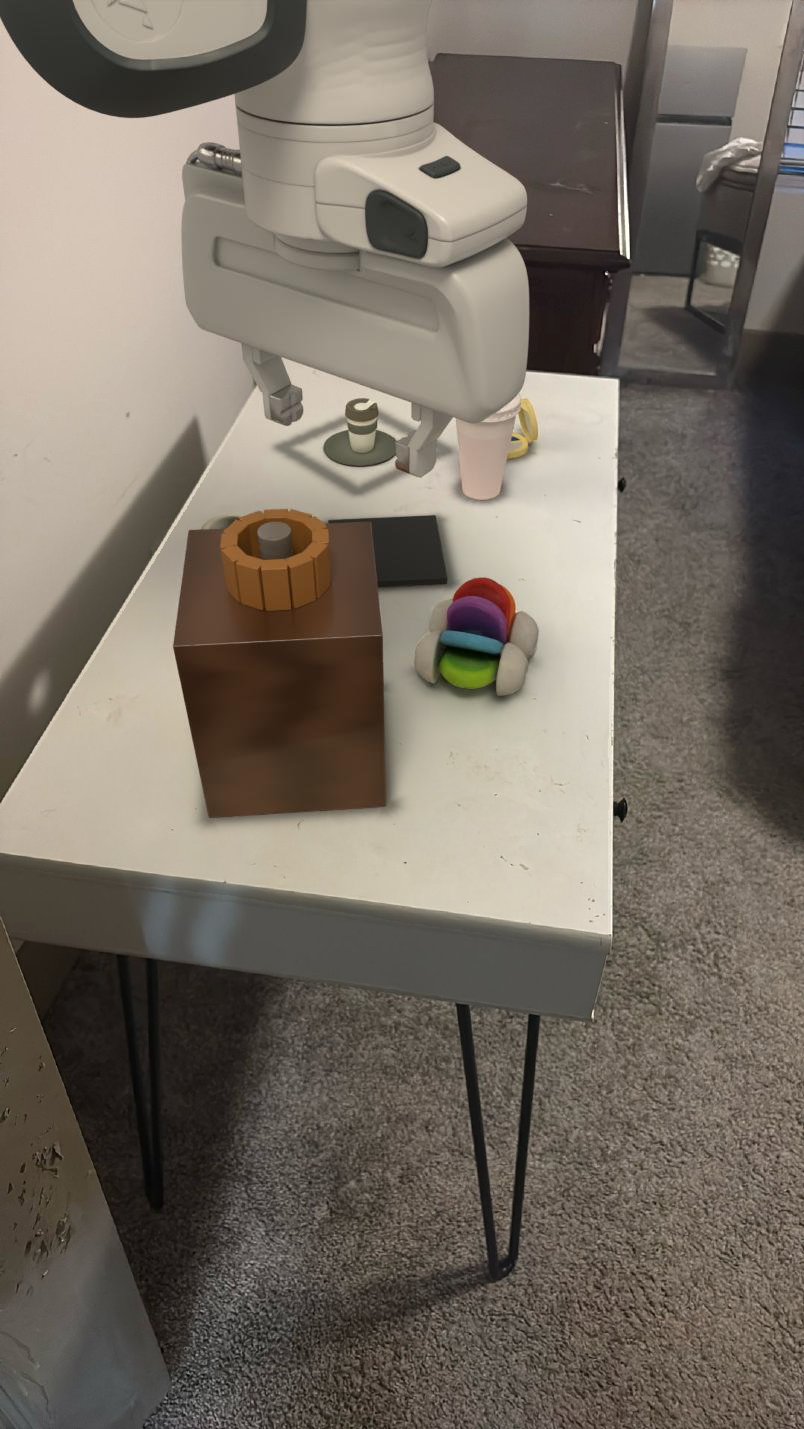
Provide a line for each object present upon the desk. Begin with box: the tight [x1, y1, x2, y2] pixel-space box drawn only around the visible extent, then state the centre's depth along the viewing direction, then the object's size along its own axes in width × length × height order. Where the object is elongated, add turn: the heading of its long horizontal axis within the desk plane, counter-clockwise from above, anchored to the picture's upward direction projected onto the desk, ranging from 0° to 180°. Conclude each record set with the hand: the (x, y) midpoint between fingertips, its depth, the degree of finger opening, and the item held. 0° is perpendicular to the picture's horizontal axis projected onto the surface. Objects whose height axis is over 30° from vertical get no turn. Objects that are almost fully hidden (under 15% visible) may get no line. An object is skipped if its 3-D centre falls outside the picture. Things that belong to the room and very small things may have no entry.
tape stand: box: [172, 522, 387, 818], centre depth 65 cm, size 12×12×18 cm
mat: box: [327, 514, 448, 588], centre depth 89 cm, size 10×10×1 cm
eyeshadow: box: [507, 397, 539, 459], centre depth 102 cm, size 4×5×5 cm
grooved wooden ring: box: [220, 508, 332, 611], centre depth 60 cm, size 6×6×3 cm
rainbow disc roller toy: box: [413, 576, 540, 696], centre depth 76 cm, size 8×10×7 cm
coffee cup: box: [322, 397, 398, 467], centre depth 102 cm, size 12×12×5 cm
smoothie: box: [455, 392, 522, 501], centre depth 93 cm, size 6×6×14 cm
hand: (347, 443), depth 56 cm, fingers open, 8 cm apart
